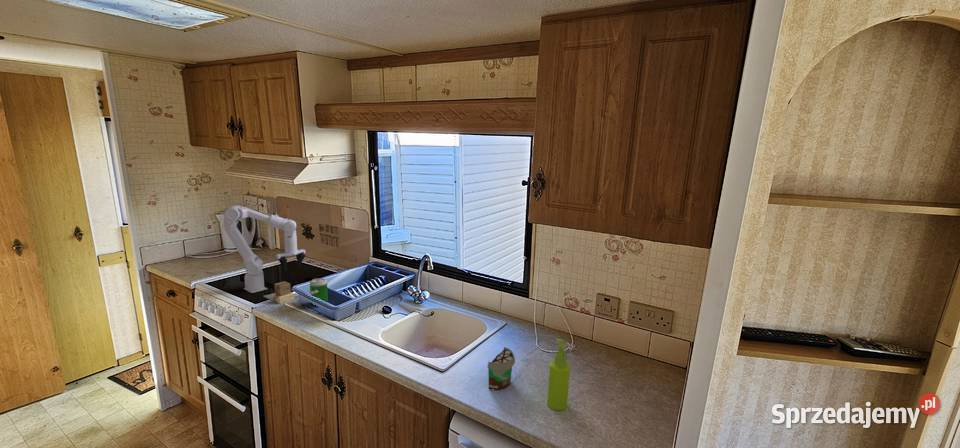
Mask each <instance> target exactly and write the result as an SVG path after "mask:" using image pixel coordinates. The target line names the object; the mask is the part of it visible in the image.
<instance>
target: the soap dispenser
mask: <svg viewBox="0 0 960 448" xmlns="http://www.w3.org/2000/svg"><path fill="white" fill-rule="evenodd" d="M555 342H556V344H557V346H558V350H557V352H555V355H554V360H552V361H551V362H550V364H549V365H550V366H549V377H548V388H547V389H548V390H547V402H546V404H547V406H548V408H550V409H551V408H552V409H551V410H553V409H554V411H557V410H562V411H564V409H565V410H566V409H567V408H566V407H568V399H569V398H568V396H569V388H570V387H569V385H570V384H569V383H570V372H571V365H570V364H569V362H567V359H568V358H567V357H568V355H567V353H565V349H567V346H566V345H567V344H565V341H564V340H563V338H562V339H561V338H555Z"/></svg>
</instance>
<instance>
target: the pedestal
mask: <svg viewBox="0 0 960 448" xmlns="http://www.w3.org/2000/svg"><path fill="white" fill-rule="evenodd" d="M273 293H274V294H272V293H271V294H272V300H274V301H276V302H278V303H280V304H284V303H287V301H288V302H290V301H291V302H292V301H294V300H295V299H294V294H295V293H294V292H292V291H291V294H288V295H284V296H279V295H276V294H275V292H273ZM272 300H271V301H272ZM274 301H273V302H274ZM276 302H275V303H276ZM278 303H277V304H278ZM280 304H279V305H280Z"/></svg>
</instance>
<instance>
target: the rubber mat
mask: <svg viewBox="0 0 960 448" xmlns="http://www.w3.org/2000/svg"><path fill="white" fill-rule="evenodd" d="M274 293H275V292H273V293H270V294H266V295H263V297H264V298H266V299H267V300H270V301H272V294H274ZM295 295H296V294H295ZM295 295H294V300H298V299H299V298H298V297H297V296H298V295H297V296H295ZM272 302H274V303H276V304H278V305H280V303H278V302H276V301H274V300H273V301H272ZM287 302H289V301H287ZM287 302H286V303H287Z"/></svg>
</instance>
